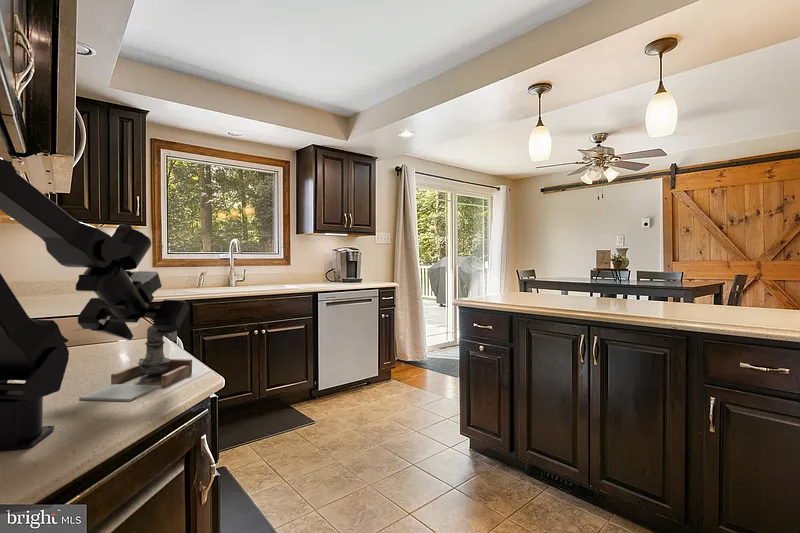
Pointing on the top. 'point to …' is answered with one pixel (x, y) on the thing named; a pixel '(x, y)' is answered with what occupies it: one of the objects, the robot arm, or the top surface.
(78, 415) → the top surface
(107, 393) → the slate mat
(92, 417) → the top surface
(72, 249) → the robot arm
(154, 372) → the salt shaker
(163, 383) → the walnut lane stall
